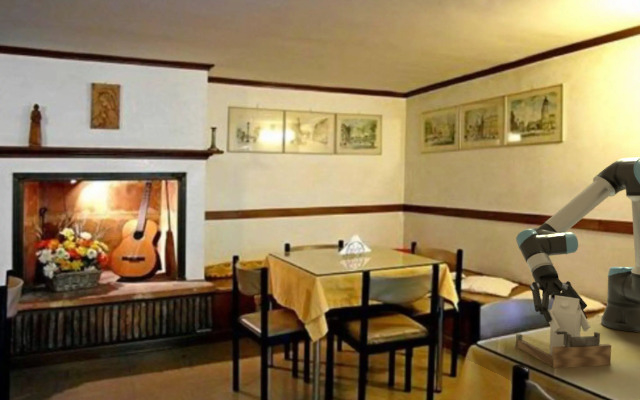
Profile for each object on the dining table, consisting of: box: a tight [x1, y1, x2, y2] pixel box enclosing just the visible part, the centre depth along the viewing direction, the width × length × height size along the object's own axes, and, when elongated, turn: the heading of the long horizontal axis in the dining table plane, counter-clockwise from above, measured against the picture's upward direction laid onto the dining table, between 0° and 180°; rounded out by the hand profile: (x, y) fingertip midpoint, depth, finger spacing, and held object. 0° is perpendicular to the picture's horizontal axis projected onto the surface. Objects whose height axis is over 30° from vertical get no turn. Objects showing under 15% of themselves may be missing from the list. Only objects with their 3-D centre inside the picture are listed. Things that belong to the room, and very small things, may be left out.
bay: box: [515, 331, 612, 369], centre depth 162 cm, size 19×21×11 cm
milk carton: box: [549, 295, 582, 355], centre depth 160 cm, size 7×7×19 cm
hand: (572, 329), depth 157 cm, fingers closed on milk carton, 10 cm apart
